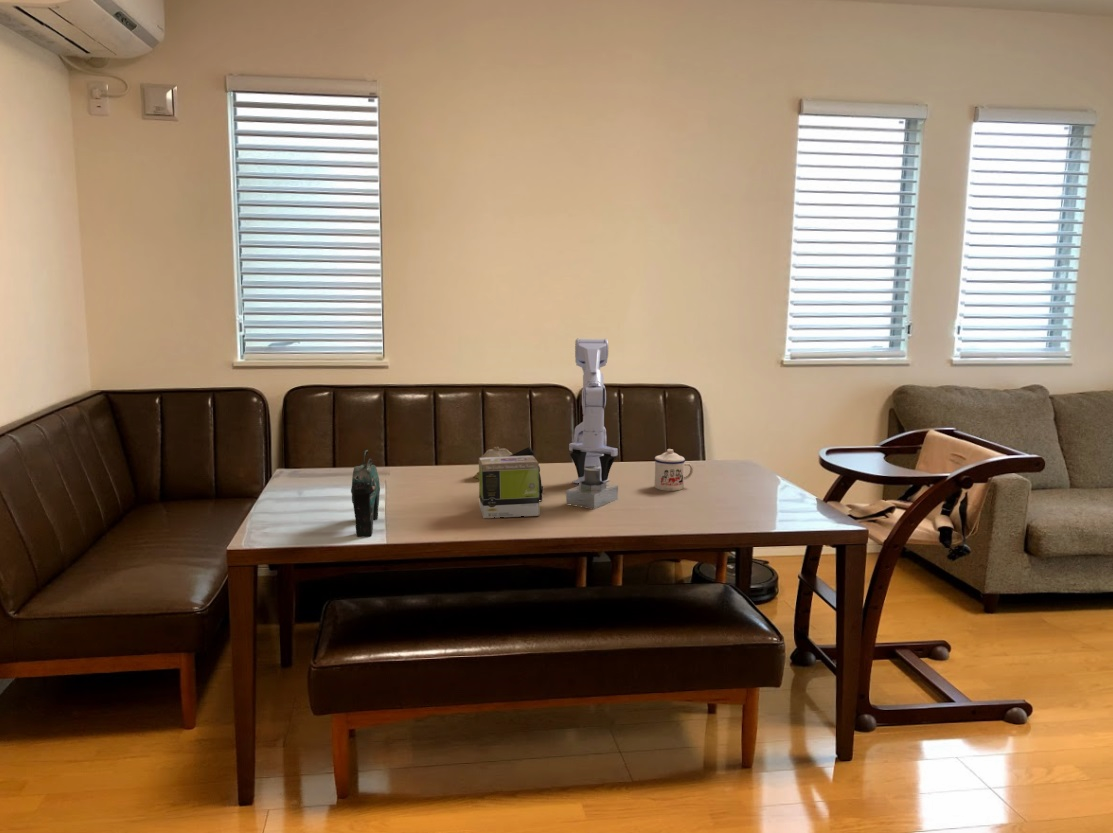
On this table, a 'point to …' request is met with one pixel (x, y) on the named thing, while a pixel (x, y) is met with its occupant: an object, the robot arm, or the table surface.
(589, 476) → the cup
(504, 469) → the tea box
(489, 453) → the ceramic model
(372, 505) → the ceramic cat
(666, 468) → the teacup with lid
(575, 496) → the square base socket
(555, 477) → the table surface
